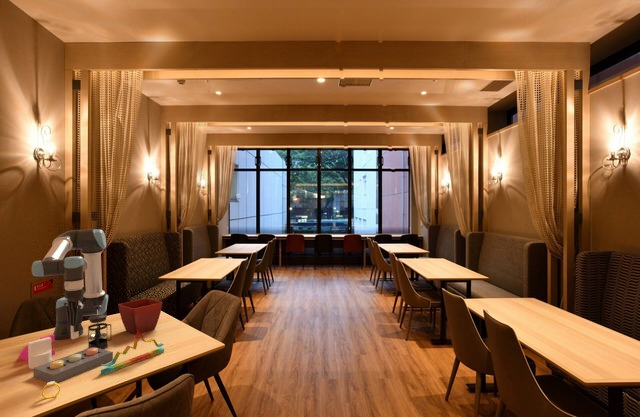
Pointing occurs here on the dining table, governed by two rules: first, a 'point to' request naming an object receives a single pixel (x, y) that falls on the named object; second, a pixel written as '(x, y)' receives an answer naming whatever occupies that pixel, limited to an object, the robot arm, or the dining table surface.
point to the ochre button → (56, 364)
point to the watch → (50, 385)
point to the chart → (133, 360)
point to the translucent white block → (39, 352)
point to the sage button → (74, 358)
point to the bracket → (25, 352)
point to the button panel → (72, 366)
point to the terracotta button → (91, 351)
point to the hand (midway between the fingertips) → (74, 338)
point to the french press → (98, 331)
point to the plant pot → (140, 314)
